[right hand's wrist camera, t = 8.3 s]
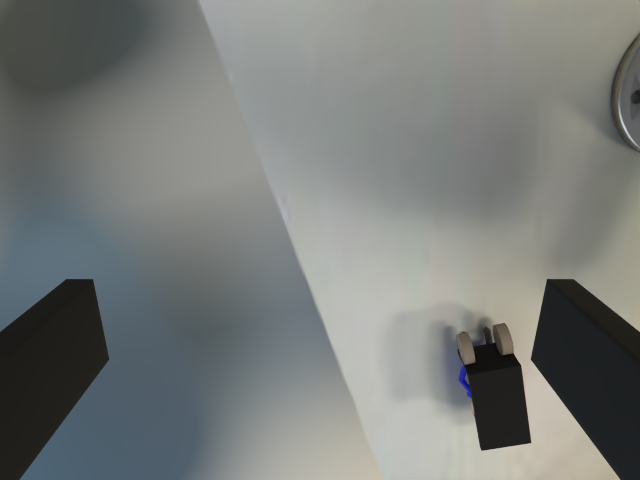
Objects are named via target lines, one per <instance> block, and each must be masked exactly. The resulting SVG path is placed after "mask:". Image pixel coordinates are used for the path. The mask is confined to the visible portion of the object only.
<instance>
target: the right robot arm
mask: <svg viewBox="0 0 640 480" xmlns="http://www.w3.org/2000/svg"><path fill="white" fill-rule="evenodd" d="M612 113H613V118H614V121H615V124H616V127H617V129H618V131H619V133H620V134H621V136H622V137H623V139H624V140H625V141H626V142H627V143H628V144H629V145H630V146H631V147H633V148H634V149H636V150H637V151H639V152H640V36H639V37H638V38H637V39H636V40H635V42H634V43H633V44H632V46H631V47H630V48H629V50H628V51H627V53H626V55H625V56H624V58H623V60H622V62H621V64H620V66H619V69H618V71H617V74H616V77H615V81H614V85H613V90H612ZM108 360H109V356H108V351H107V346H106V341H105V336H104V332H103V327H102V322H101V317H100V312H99V307H98V302H97V297H96V292H95V287H94V282H93V279H66V280H65V281H64V282H62V283H61V284H60V285H59V286H57V287H56V288H55V289H54V290H52V291H51V292H50V293H49V294H47V295H46V296H45V297H44V298H42V299H41V300H40V301H39V302H37V303H36V304H35V305H34V306H32V307H31V308H30V309H29V310H27V311H26V312H25V313H24V314H22V315H21V316H20V317H19V318H17V319H16V320H15V321H14V322H12V323H11V324H10V325H8V326H7V327H6V328H5V329H3V330H2V331H1V332H0V480H19V479H20V478H21V477H22V475H23V474H24V473H25V471H26V470H27V469H28V467H29V466H30V465H31V463H32V462H33V461H34V459H35V458H36V457H37V455H38V454H39V453H40V451H41V450H42V449H43V447H44V446H45V445H46V443H47V442H48V441H49V439H50V438H51V437H52V435H53V434H54V433H55V431H56V430H57V429H58V427H59V426H60V425H61V423H62V422H63V420H64V419H65V418H66V416H67V415H68V414H69V413H70V411H71V410H72V408H73V407H74V406H75V404H76V403H77V402H78V400H79V399H80V398H81V396H82V395H83V394H84V392H85V391H86V390H87V388H88V387H89V386H90V384H91V383H92V382H93V380H94V379H95V378H96V376H97V375H98V374H99V372H100V371H101V370H102V368H103V367H104V366H105V364H106V363H107V362H108ZM531 360H532V362H533V363H534V364H535V366H536V367H537V368H538V370H539V371H540V372H541V374H542V375H543V376H544V378H545V379H546V380H547V382H548V383H549V384H550V386H551V387H552V388H553V390H554V391H555V392H556V394H557V395H558V396H559V398H560V399H561V400H562V402H563V403H564V404H565V406H566V407H567V409H568V410H569V411H570V413H571V414H572V415H573V417H574V418H575V419H576V421H577V422H578V423H579V425H580V426H581V427H582V429H583V430H584V431H585V433H586V434H587V435H588V437H589V438H590V439H591V441H592V442H593V443H594V445H595V446H596V447H597V449H598V450H599V451H600V453H601V454H602V455H603V457H604V458H605V459H606V461H607V462H608V463H609V465H610V466H611V467H612V469H613V470H614V471H615V473H616V474H617V475H618V477H619V478H620V480H640V332H639V331H638V330H637V329H635V328H634V327H633V326H632V325H630V324H629V323H628V322H627V321H625V320H624V319H623V318H622V317H620V316H619V315H618V314H616V313H615V312H614V311H613V310H611V309H610V308H609V307H608V306H606V305H605V304H604V303H603V302H601V301H600V300H599V299H598V298H596V297H595V296H594V295H593V294H591V293H590V292H589V291H588V290H586V289H585V288H584V287H583V286H581V285H580V284H579V283H578V282H576V281H575V280H574V279H547V282H546V287H545V292H544V297H543V302H542V307H541V312H540V317H539V322H538V326H537V331H536V336H535V341H534V346H533V351H532V356H531Z"/></svg>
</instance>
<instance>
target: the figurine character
mask: <svg viewBox="0 0 640 480" xmlns="http://www.w3.org/2000/svg"><path fill="white" fill-rule="evenodd" d="M484 335H485V340H486V345H480V346H475V347H473V346H472V343H471V340H470V337H469V335H468V333H465V332H463V334H458V335H457V343H458V348H459V350H458V354H459V357H460V359H461V361H462V369H461V373H460V377H459V381H460V383H461V384H462V385H463V386H464V388H465V389H466V390H467V396H468V397H470V398H472V412H473V414H474V416H475V420H476V426H477V432H478V438H479V443H480V448H481V450H482V451H483V450H489V449H496V448H502V447H508V446H515V445H521V444H528V443H531V437H530V430H529V422H528V414H527V407H526V399H525V392H524V384H523V376H522V369H521V365H520V363H519V362H518V360H517V358H516V357H515V355H514V354H513V342H512V338H511V335H510V332H509V330H508V327H507V326H506V324H505V323H502V324H497V325H493V335H494V339H495V343H493V342H492V337H491V331H490V330H489V329H488V328H487V327H485V329H484ZM466 373H467V375H468V380H469V384H468V383H467V382H466V381H465V376H466Z"/></svg>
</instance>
